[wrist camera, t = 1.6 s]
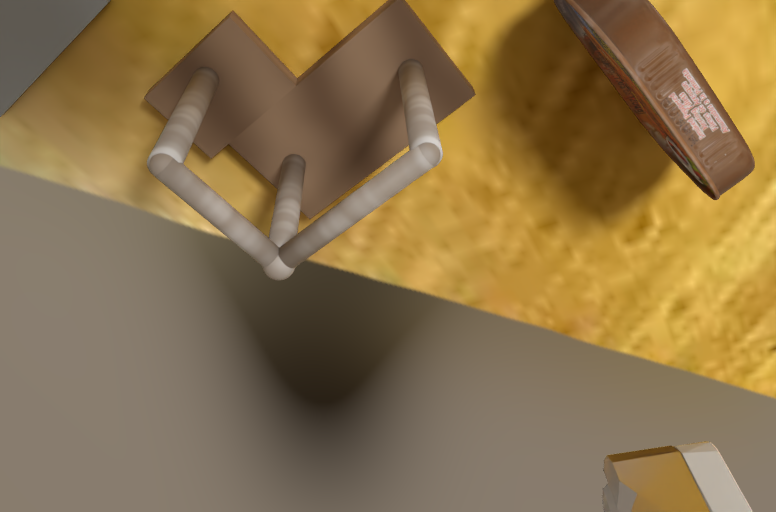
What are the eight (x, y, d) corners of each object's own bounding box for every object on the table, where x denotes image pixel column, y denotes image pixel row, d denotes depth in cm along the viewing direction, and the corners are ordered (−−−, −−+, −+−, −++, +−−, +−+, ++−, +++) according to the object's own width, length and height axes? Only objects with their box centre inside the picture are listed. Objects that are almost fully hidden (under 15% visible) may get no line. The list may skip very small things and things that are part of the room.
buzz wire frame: (336, -89, 33) (328, -32, 23) (472, 86, 39) (512, 191, 29) (149, 90, 38) (78, 198, 28) (294, 221, 44) (277, 349, 34)
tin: (532, -24, 35) (575, 23, 29) (582, -67, 34) (639, -29, 27) (667, 159, 42) (727, 232, 35) (712, 127, 41) (783, 197, 34)
